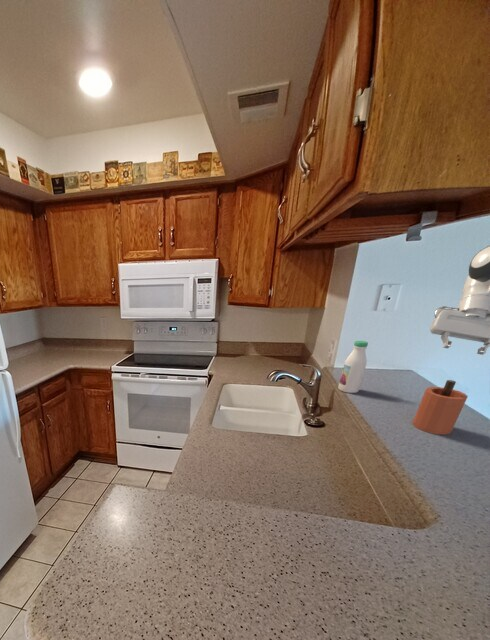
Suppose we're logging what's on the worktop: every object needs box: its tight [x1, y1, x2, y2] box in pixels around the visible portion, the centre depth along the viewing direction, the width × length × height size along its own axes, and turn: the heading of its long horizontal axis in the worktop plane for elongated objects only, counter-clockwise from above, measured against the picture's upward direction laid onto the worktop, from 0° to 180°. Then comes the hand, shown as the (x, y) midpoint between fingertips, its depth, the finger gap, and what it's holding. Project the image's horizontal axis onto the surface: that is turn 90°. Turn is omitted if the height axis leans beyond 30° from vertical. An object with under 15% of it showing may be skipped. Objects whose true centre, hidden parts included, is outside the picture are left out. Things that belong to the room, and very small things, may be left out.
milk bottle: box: [337, 340, 369, 394], centre depth 132 cm, size 8×8×20 cm
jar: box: [412, 386, 468, 436], centre depth 104 cm, size 10×10×12 cm
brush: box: [441, 379, 457, 397], centre depth 103 cm, size 4×4×15 cm
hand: (463, 350), depth 104 cm, fingers open, 8 cm apart
